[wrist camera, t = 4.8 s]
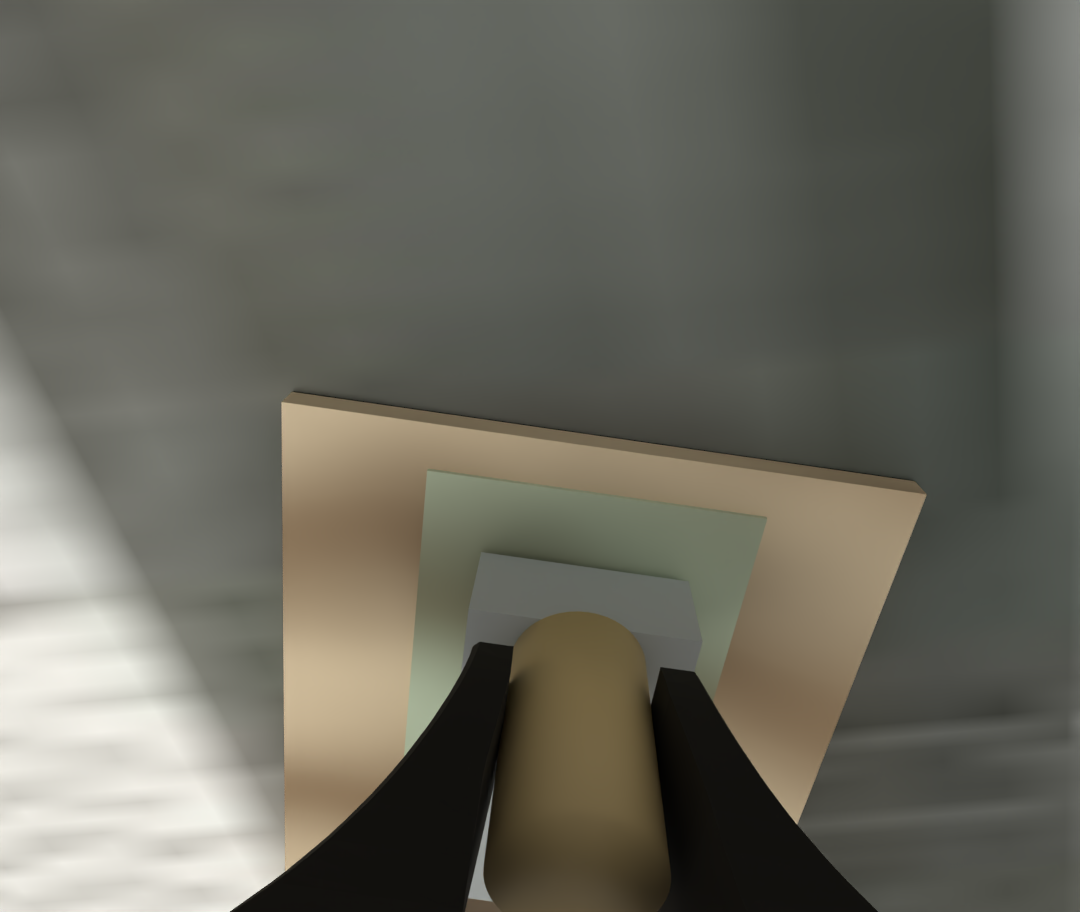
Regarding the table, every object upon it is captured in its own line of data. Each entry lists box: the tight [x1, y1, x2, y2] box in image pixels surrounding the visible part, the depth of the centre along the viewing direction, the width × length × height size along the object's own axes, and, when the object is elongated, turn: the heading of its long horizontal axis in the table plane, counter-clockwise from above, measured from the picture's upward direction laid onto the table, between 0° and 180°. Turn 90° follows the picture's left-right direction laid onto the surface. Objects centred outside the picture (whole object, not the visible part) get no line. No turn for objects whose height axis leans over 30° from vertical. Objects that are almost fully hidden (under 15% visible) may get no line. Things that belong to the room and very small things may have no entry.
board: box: [282, 392, 927, 912], centre depth 20 cm, size 23×13×1 cm, turn 172°
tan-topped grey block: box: [461, 552, 703, 912], centre depth 15 cm, size 8×4×6 cm, turn 172°
